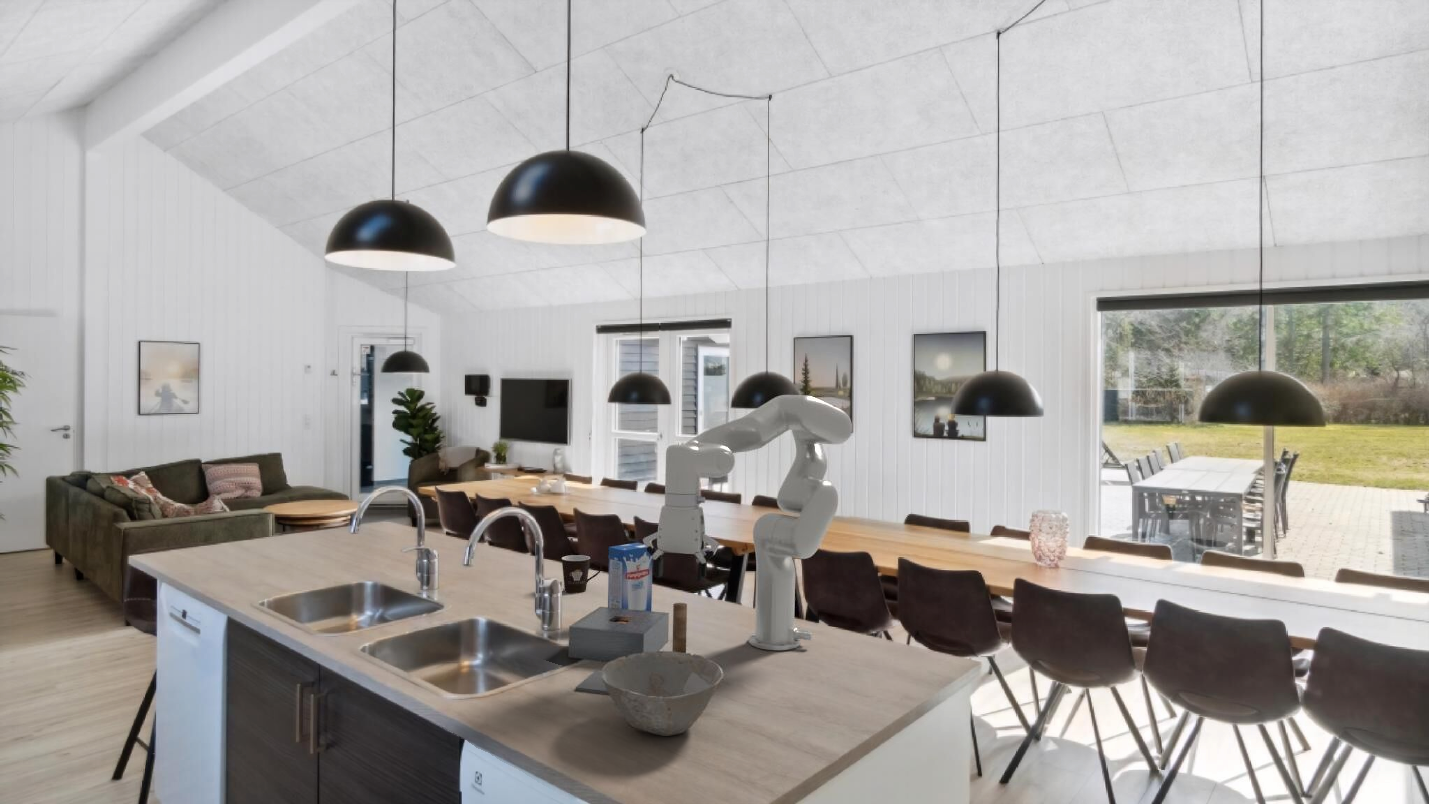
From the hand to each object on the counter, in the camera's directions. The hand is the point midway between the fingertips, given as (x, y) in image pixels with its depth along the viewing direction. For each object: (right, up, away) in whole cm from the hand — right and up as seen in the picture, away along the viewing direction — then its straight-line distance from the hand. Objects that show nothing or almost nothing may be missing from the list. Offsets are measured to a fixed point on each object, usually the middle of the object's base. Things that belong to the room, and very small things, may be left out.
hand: (679, 578), depth 172 cm
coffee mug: (-34, -19, +67) cm, 77 cm away
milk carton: (-15, -20, +35) cm, 43 cm away
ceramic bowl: (-2, -20, -30) cm, 36 cm away
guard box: (-15, -19, +12) cm, 27 cm away
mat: (-14, -20, -11) cm, 27 cm away
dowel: (0, -20, 0) cm, 20 cm away
